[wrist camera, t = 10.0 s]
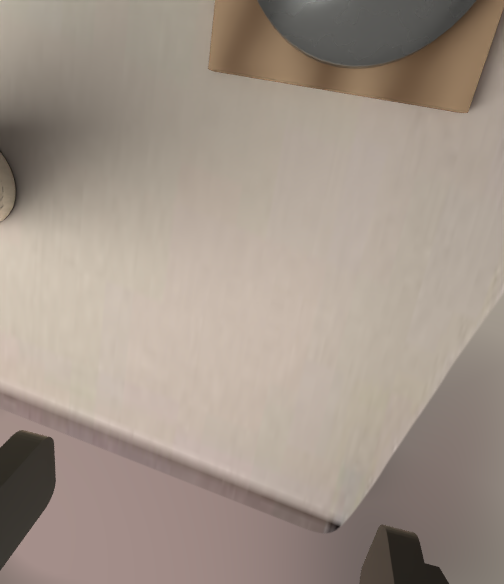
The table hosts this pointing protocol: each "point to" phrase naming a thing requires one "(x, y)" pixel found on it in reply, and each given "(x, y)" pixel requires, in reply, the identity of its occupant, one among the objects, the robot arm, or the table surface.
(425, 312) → the table surface
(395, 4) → the crank turntable
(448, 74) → the stand base
